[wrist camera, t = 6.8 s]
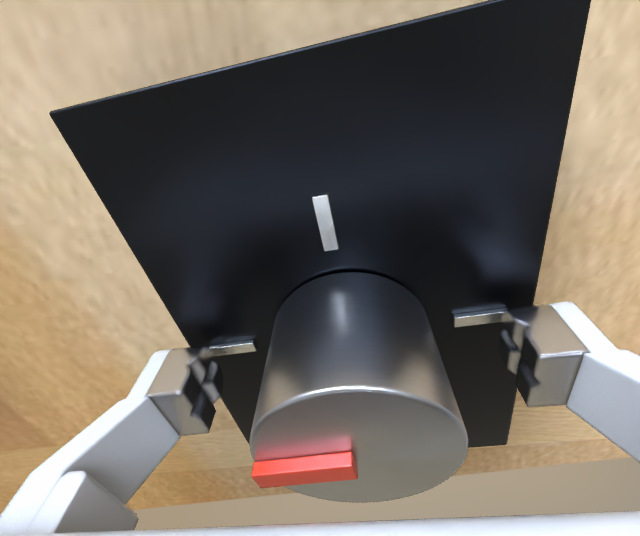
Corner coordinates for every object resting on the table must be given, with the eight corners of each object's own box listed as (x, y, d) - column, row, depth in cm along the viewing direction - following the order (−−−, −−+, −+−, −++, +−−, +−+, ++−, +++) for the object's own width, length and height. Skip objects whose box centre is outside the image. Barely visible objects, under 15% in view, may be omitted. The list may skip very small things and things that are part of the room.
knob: (418, 254, 8) (472, 388, 5) (434, 370, 10) (477, 511, 7) (251, 289, 9) (205, 424, 6) (300, 389, 11) (287, 524, 8)
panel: (478, 379, 15) (508, 449, 13) (270, 400, 17) (258, 466, 14) (512, -4, 8) (604, -29, 5) (125, 94, 9) (40, 113, 6)
